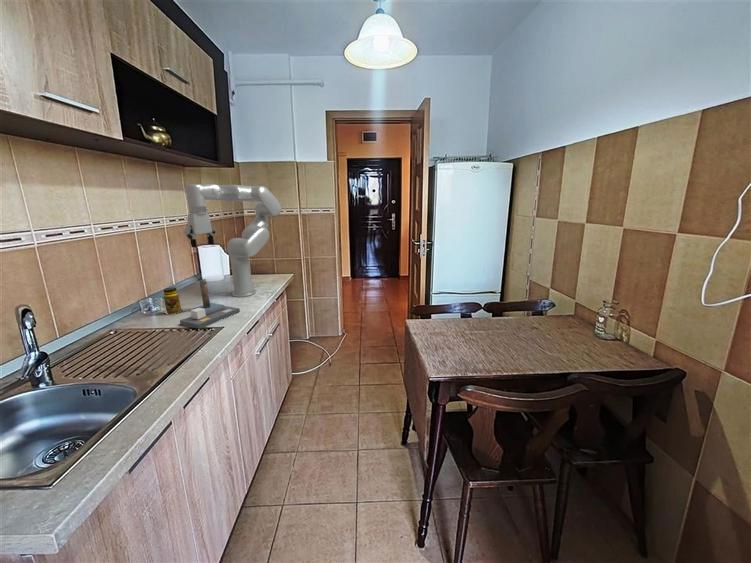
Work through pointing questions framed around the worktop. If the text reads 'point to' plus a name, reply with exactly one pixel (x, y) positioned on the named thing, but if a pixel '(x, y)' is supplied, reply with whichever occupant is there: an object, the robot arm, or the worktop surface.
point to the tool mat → (212, 305)
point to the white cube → (198, 313)
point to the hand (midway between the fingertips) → (203, 245)
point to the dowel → (205, 293)
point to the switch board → (210, 317)
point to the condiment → (172, 300)
